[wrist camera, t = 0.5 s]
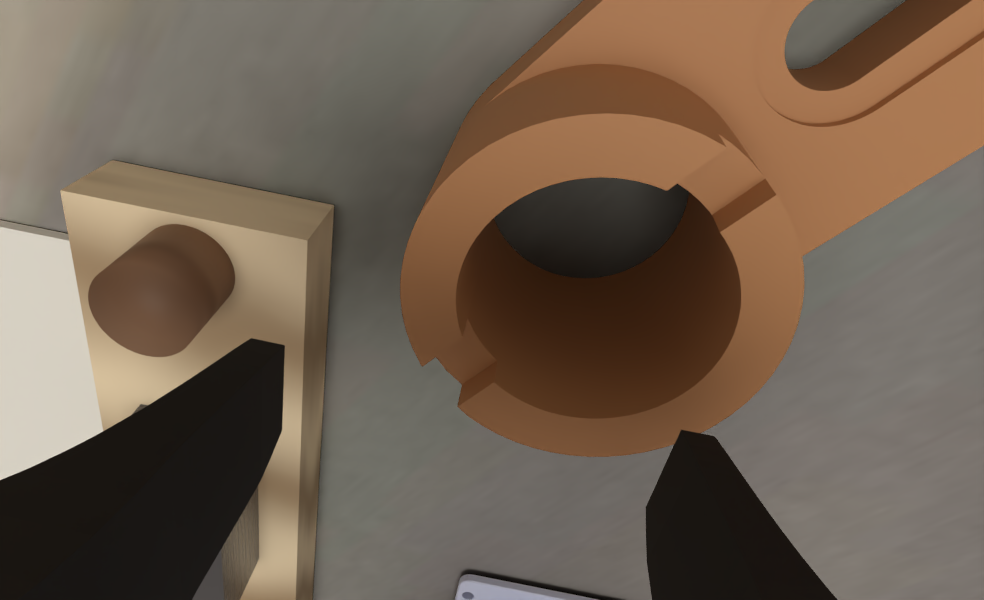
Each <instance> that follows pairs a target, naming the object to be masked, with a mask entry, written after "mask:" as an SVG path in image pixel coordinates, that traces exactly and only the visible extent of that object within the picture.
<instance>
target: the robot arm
mask: <svg viewBox="0 0 984 600" xmlns="http://www.w3.org/2000/svg"><path fill="white" fill-rule="evenodd" d="M284 358H285V345H282V344H277V343H272V342H267V341H263V340H258V339H253V338H251V339H249V340H247V341H246V342H244V343H243V344H241V345H240V346H238V347H236V348H235V349H233V350H232V351H230V352H229V353H227V354H226V355H224V356H223V357H222V358H220V359H219V360H217V361H216V362H214V363H213V364H211V365H210V366H208V367H207V368H205V369H204V370H202V371H201V372H199V373H198V374H196V375H195V376H193V377H192V378H190V379H189V380H187V381H186V382H184V383H182V384H181V385H179V386H178V387H176V388H175V389H173V390H171V391H170V392H168V393H167V394H165V395H164V396H162V397H161V398H159V399H157V400H156V401H154V402H153V403H151V404H149V405H148V406H146V407H144V408H143V409H141V410H139V411H138V412H136V413H134V414H132V415H131V416H129V417H127V418H125V419H124V420H122V421H120V422H118V423H117V424H115V425H113V426H112V427H110V428H108V429H106V430H105V431H103V432H101V433H99V434H97V435H96V436H94V437H92V438H90V439H88V440H86V441H84V442H82V443H80V444H78V445H76V446H74V447H72V448H70V449H68V450H66V451H64V452H62V453H60V454H58V455H56V456H54V457H52V458H49V459H47V460H45V461H43V462H41V463H39V464H37V465H35V466H32V467H30V468H28V469H26V470H24V471H21V472H19V473H16V474H14V475H12V476H9V477H7V478H4V479H2V480H0V600H192V599H193V597H194V595H195V593H196V591H197V590H198V588H199V586H200V584H201V583H202V581H203V579H204V578H205V576H206V574H207V572H208V571H209V569H210V567H211V566H212V564H213V562H214V561H215V559H216V557H217V555H218V554H219V552H220V550H221V549H222V547H223V545H224V543H225V542H226V540H227V538H228V537H229V535H230V533H231V531H232V530H233V528H234V526H235V525H236V523H237V521H238V520H239V518H240V516H241V514H242V513H243V511H244V509H245V507H246V506H247V504H248V502H249V500H250V499H251V497H252V495H253V494H254V492H255V490H256V488H257V486H258V485H259V483H260V481H261V479H262V477H263V475H264V472H265V470H266V468H267V465H268V463H269V461H270V459H271V456H272V454H273V451H274V449H275V447H276V444H277V442H278V439H279V437H280V435H281V432H282V420H283V389H284ZM646 546H647V565H648V573H649V580H650V587H651V594H652V600H837V599H836V598H835V596H834V595H833V594H832V593H831V592H830V591H829V589H828V588H827V587H826V586H825V585H824V583H823V582H822V581H821V580H820V578H819V577H818V576H817V575H816V574H815V572H814V571H813V570H812V569H811V567H810V566H809V565H808V564H807V563H806V561H805V560H804V559H803V558H802V556H801V555H800V554H799V553H798V551H797V550H796V549H795V547H794V546H793V545H792V543H791V542H790V541H789V540H788V538H787V537H786V536H785V534H784V533H783V532H782V530H781V529H780V528H779V526H778V525H777V524H776V522H775V521H774V519H773V518H772V517H771V515H770V514H769V513H768V511H767V510H766V508H765V507H764V506H763V504H762V503H761V501H760V500H759V499H758V497H757V496H756V494H755V493H754V492H753V490H752V489H751V487H750V486H749V484H748V483H747V482H746V480H745V479H744V477H743V476H742V474H741V473H740V472H739V470H738V469H737V467H736V466H735V464H734V463H733V461H732V460H731V459H730V457H729V456H728V454H727V453H726V451H725V450H724V449H723V447H722V446H721V445H720V443H719V442H718V440H717V439H716V438H715V437H714V436H710V435H705V434H700V433H696V432H691V431H686V430H682V429H681V431H680V433H679V435H678V438H677V440H676V442H675V444H674V447H673V449H672V451H671V453H670V455H669V458H668V460H667V462H666V464H665V466H664V469H663V471H662V473H661V475H660V477H659V480H658V482H657V484H656V486H655V488H654V491H653V493H652V495H651V497H650V500H649V502H648V504H647V506H646ZM455 600H599V599H594V598H589V597H583V596H578V595H573V594H568V593H563V592H558V591H553V590H548V589H543V588H538V587H533V586H528V585H523V584H518V583H513V582H508V581H503V580H498V579H493V578H488V577H483V576H478V575H473V574H467V575H464V576H462V577H461V578H460V580H459V584H458V588H457V592H456V596H455Z"/></svg>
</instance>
